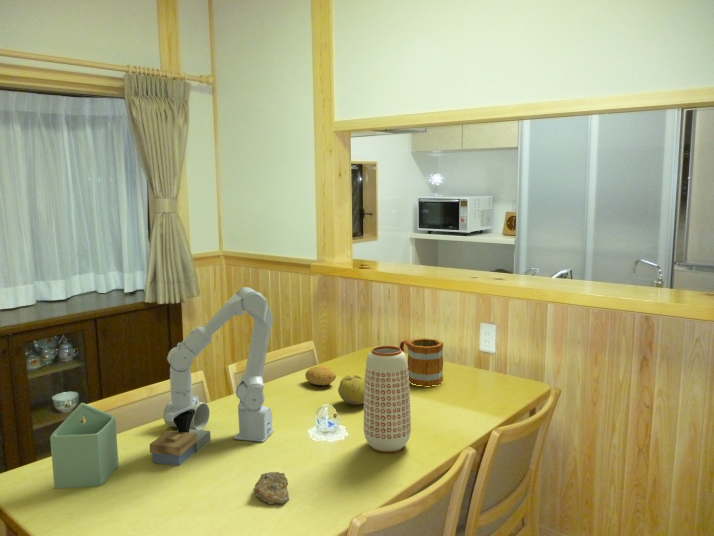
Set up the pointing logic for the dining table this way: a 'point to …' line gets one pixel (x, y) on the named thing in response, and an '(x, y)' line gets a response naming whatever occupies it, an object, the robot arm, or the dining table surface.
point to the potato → (320, 375)
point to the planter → (84, 449)
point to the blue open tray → (172, 457)
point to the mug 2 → (424, 361)
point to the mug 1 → (198, 418)
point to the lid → (173, 443)
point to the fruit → (352, 389)
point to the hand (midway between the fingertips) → (184, 436)
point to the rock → (272, 488)
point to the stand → (201, 438)
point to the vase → (387, 399)
